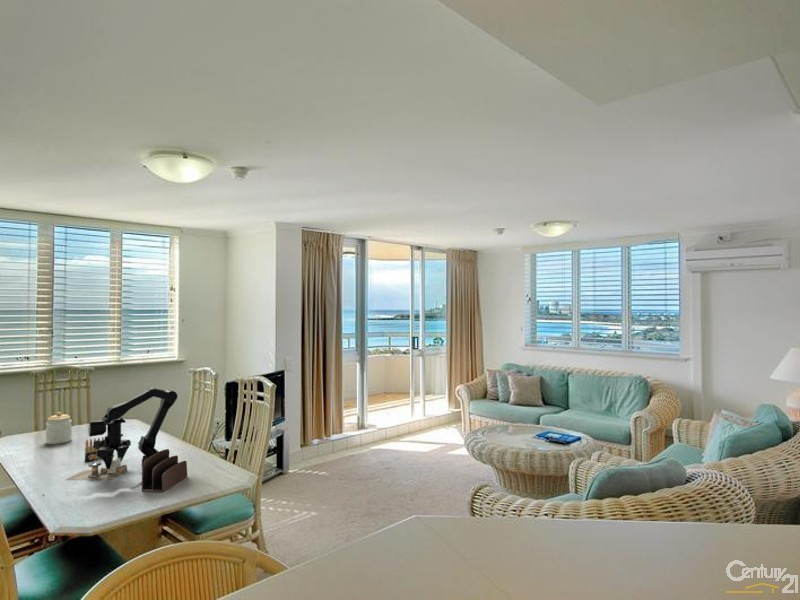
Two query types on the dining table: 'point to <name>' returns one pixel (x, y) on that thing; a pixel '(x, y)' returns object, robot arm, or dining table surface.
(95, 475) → the bobbin
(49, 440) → the jar
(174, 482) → the letter holder
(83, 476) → the board
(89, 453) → the ammunition clip
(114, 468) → the white block
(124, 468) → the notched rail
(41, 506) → the dining table surface
